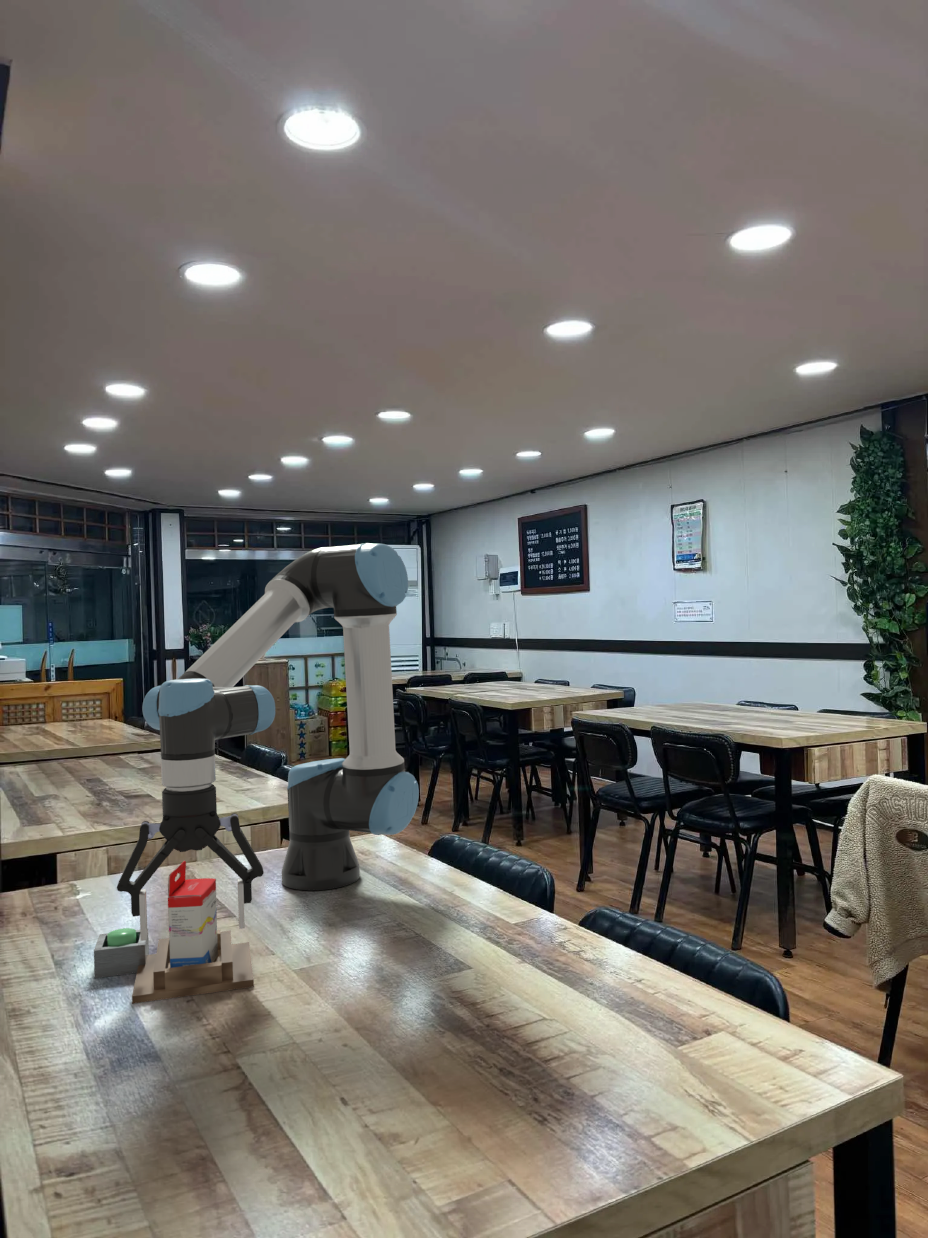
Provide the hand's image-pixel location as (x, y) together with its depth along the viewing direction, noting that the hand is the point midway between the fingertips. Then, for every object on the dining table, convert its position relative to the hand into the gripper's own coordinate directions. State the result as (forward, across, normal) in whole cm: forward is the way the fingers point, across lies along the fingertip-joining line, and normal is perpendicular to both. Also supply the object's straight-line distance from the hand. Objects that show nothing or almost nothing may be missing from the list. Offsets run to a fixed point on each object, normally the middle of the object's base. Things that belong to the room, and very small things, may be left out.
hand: (193, 931), depth 129 cm
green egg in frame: (+6, +10, -7) cm, 14 cm away
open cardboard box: (+6, 0, 0) cm, 6 cm away
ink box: (+5, 0, 0) cm, 5 cm away
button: (+4, +11, -7) cm, 13 cm away
